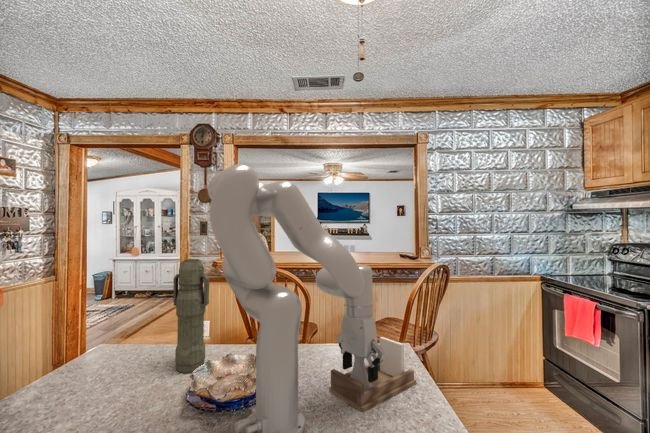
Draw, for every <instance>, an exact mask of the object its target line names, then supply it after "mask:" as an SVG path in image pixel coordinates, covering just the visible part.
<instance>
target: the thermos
mask: <svg viewBox="0 0 650 433" xmlns="http://www.w3.org/2000/svg"><path fill="white" fill-rule="evenodd" d="M204 271H205V268H204V264H203V261H202V260H200V259H198V258H197V259H195V258H194V259H190V258H189V259H184V260H182V261H181V263H180V265H179V268H178V273H177V274H176V275H174V277H173V296H172V297H173V306H175V311H176V312H175V315H176V317H177V338H176V339H177V340H176V341H177V345H176V347H175V351H174V352H175V355H174V356H175V359H174V360H175V372H176V371H177V372H179V373H178V374H180V373H183V374H182V375H188V374H193V373H192V372H193V371H194V370H195V369H196V368H198V367H199V366H201V365H203V364H204V363H205V360H206V344H205V338H204V337H205V336H204V335H205V334H204V332H205V329H204V327H205V324H204V323H205V322H204V321H205V320H204V318H205V313H206V307H207V306H208V305H209V303H210V297H209V296H210V277H209V275H208V274H205V272H204ZM177 372H176V373H177Z"/></svg>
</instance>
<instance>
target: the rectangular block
mask: <svg viewBox="0 0 650 433" xmlns="http://www.w3.org/2000/svg"><path fill="white" fill-rule="evenodd" d="M378 340H379V343H378V344H379V346H380V347H381V348H382V349H383V350H384V351H385V353H386V354H385V356H384V358H383V361H382V362H381V363H380V371H382V372H384V373H386V374H389V375H391V376H393V377H395V376H397V375H399V374H401V373H403V372H405V350H404V349H405V344H404V343H402V342H399V341H396V340H392V339H389V338H387V337H384V336H380V337H379V339H378Z"/></svg>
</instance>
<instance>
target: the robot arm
mask: <svg viewBox="0 0 650 433" xmlns="http://www.w3.org/2000/svg"><path fill="white" fill-rule="evenodd" d="M207 194H208V196H209V199H211V200H210V207H209V223H210V227H211V230H212V234H213V236H214V238H215V240H216V242H217V244H218V245H219V247H220V250H221V251H222V253H223V255H224V256H223V258H222V262H221V268H222V273H223V276H224V278H225V280H226V282H227V284H228V285H229V288H230V289H231V291H232V292H233V294H234V295H235V297H236V299H237V301H238V302H239V304H240V305H241V307H242V308H243V309H244V311H245V313H246V314H248V316H249V317H250V318H252V319H253V320H256V321H257V322H258V323H259V328H258V329H259V330H258V334H257V338H256V345H255V346H256V347H255V377H256V378H255V407H254V408H251V414H250V415H248V416H247V418H245V419H241V420H239V421H237V422H234V431H235V432H236V433H241V432H243V431H245V433H304V431H305V428H306V417H305V415H304V414H303V413H302V412H301V411H300V410H299V335H300V333H299V332H300V326H301V321H302V313H303V306H302V302H301V299H300V298H299V296H298V295H297V293H296V292H295V291H294V290H292V289H291V288H289V287H287V286H284V285H282V284H281V285H280V284H278V283H277V284H276V283H273V281H274V279H275V278H276V274H277V267H276V266H277V264H276V262H275V260H274V258H273V256H272V254H271V252H270V251H269V249H268V247H267V245H266V244H265V242H264V240H263V238H262V236H261V235H260V233H259V231H258V229H257V227H256V224H255V223H254V220H253V216H259V217H264V218H265V217H266V218H274V219H275V220H276V221H277V223H278V224H279V226H280V228H281V229H282V231H283V232H284V233H285V235H286V236H287V238H288V240H289V241H290V243H291V244H292V246H293V247H294V249H296V250H297V251H299V252H300V253H302V254H303V255H305V256H307V257H308V258H311V259H312V260H314V261H316V262H317V263H318V264H320V265H321V267H322V268H321V269H319V271H318V272H317V273H316V276H315V284H316V286H317V288H318V290H320V291H321V292H322V293H324V294H327V295H331V296H336V297H338V298H343V299H344V308H345V310H344V313H343V316H342V321H341V328H340V333H339V334H337V335H336V338H337V342H338V347H339V348H340V353H341V355H342V370H347V369H350V368H353V356H354V355H356V356H358V357H360V358H364V359H366V361H367V363H368V364H369V365H370V366H368V382H370V383H371V382H374V381H376V380H378V365H380V363H381V362H382V361H383V358H384V356H385V354H386V353H385V351H384V350H383V349H382V348H381V347H380V344H379V343H378V333H377V325H376V320H375V317H374V310H373V308H374V306H373V305H374V303H373V302H374V301H373V298H374V297H373V296H374V295H373V293H374V292H373V269H372V267H371V266H369V265H368V264H358V263H357V261H356V259H355V258H354V257H353V255H352V254H351V252H350V251H349V250H348V249H347V248H346V247H345V246H344V245H343V244H342V243H341V242H339V240H337V239H336V238H335V237H334V236H333V235H332V234H331V233H329V232H328V231H327V230H326V229H325V228H324V227H323V226H322V224H321V223H320V221H319V220H318V218H317V216H316V214H315V213H314V211H313V210H312V208H311V207H310V204H309V203H308V202H307V200H306V198H305V197H304V195H303V192H301V190H300V188H298V186H297V184H295V183H294V182H292V181H290V180H279V181H274V182H271V183H262V182H260V179H259V177H258V174H257V172H256V171H255V169H253V167H251V166H250V165H246V164H243V163H242V164H240V163H237V164H232V165H230V166H228V167H226V168H224V169H223V170H222V171H220V172H218V173H216V174H215V175H214V176H212V177H211V179H210V180H209V182H208V184H207Z"/></svg>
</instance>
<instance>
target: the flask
mask: <svg viewBox="0 0 650 433" xmlns="http://www.w3.org/2000/svg"><path fill="white" fill-rule="evenodd" d="M353 356H354V361H353V365H352V370H351V371H352V373H351V376H350V378H352V379H354V380H356V381H358V382H360V383H362V384H364V391H366V390H368V389H370V388H372V386H371V383H370V382H368V374H367V371H366V368H365V366H366V364H365V358H360V357H358V356H356V355H353Z"/></svg>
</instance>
